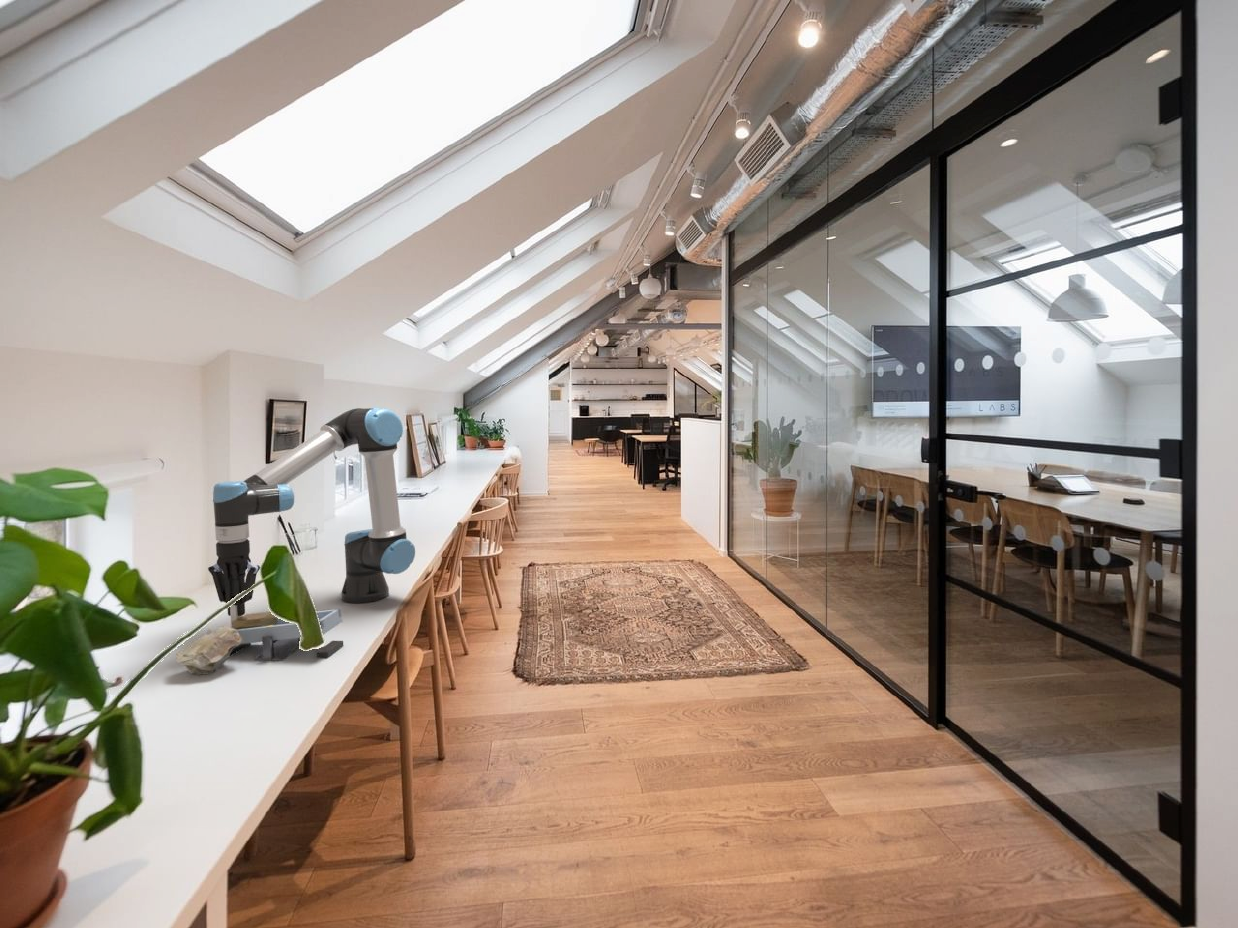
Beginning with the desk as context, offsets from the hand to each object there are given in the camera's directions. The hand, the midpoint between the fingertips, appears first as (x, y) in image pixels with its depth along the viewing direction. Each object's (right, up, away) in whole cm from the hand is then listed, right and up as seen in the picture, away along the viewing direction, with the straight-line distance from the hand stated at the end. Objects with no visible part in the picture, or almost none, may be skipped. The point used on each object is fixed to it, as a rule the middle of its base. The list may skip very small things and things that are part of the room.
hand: (237, 627), depth 165 cm
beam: (+12, -1, -1) cm, 12 cm away
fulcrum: (+12, -6, 0) cm, 14 cm away
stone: (+2, -8, -13) cm, 16 cm away
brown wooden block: (+5, -1, 0) cm, 5 cm away
